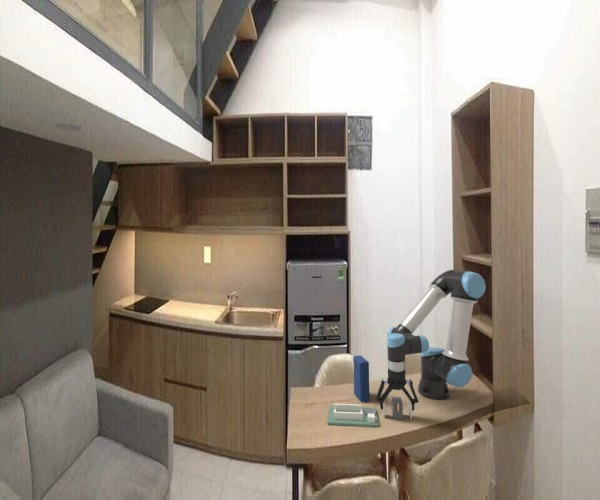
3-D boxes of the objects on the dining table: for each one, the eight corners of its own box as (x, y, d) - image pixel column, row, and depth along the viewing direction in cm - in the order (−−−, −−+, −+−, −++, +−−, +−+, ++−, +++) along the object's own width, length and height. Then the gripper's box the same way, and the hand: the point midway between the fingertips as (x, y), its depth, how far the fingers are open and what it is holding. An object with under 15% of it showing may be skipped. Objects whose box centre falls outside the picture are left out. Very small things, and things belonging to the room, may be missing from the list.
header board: (376, 410, 157) (375, 401, 157) (379, 427, 143) (378, 418, 143) (329, 408, 160) (329, 400, 160) (327, 424, 146) (327, 415, 146)
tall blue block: (370, 401, 165) (369, 361, 165) (360, 402, 164) (359, 362, 163) (362, 392, 175) (361, 355, 174) (353, 393, 173) (352, 356, 173)
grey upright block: (400, 414, 153) (400, 397, 152) (403, 421, 147) (402, 403, 146) (392, 413, 153) (391, 396, 153) (393, 421, 147) (393, 403, 147)
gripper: (421, 366, 152) (422, 413, 153) (369, 364, 155) (370, 410, 156) (425, 372, 144) (426, 422, 145) (370, 371, 147) (371, 419, 148)
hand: (397, 416), depth 151 cm, fingers open, 11 cm apart
